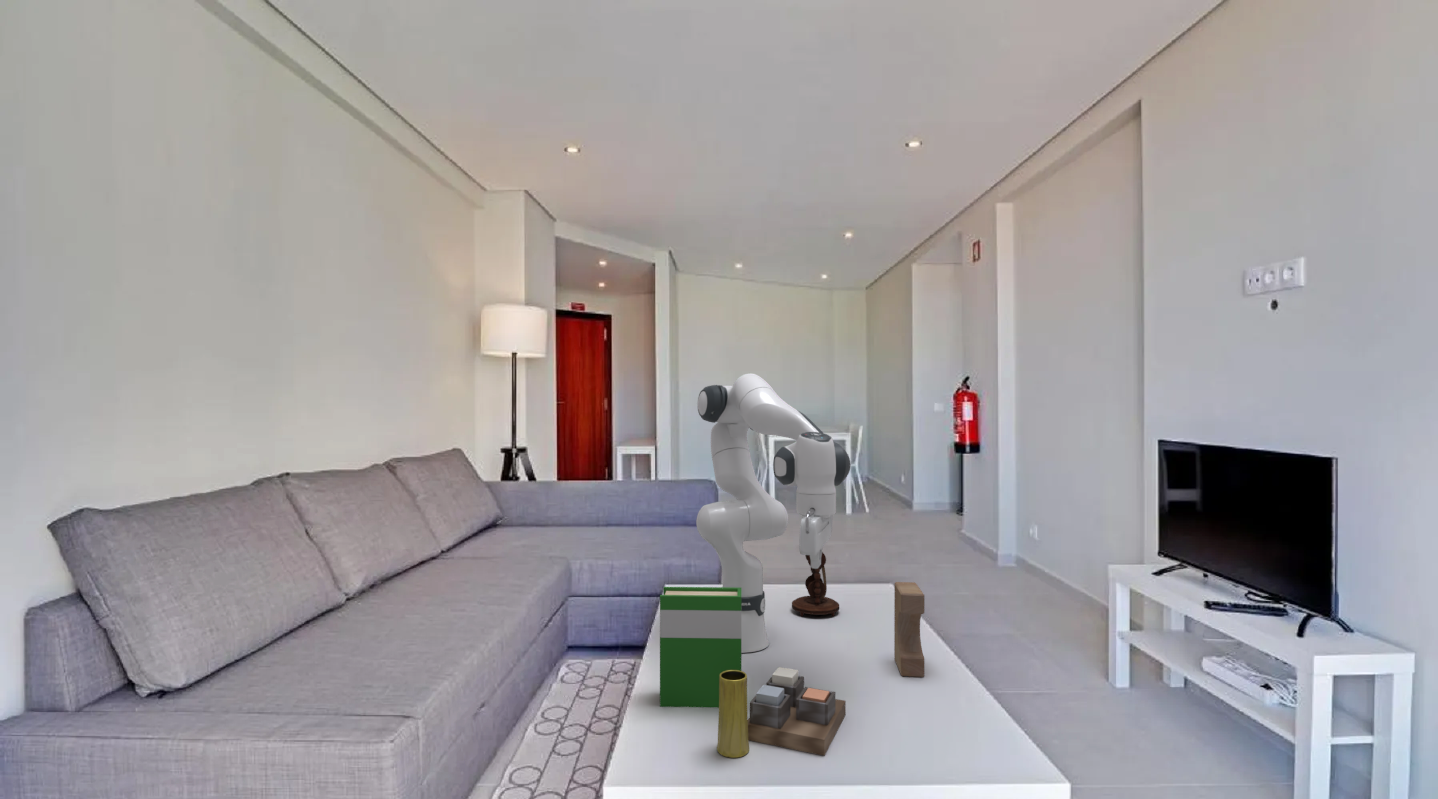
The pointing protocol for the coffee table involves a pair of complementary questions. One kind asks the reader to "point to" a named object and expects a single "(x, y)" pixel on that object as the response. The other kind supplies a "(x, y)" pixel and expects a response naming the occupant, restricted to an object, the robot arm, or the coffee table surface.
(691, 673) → the hardback book
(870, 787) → the coffee table surface
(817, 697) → the terracotta button
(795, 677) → the cream button
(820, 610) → the brown figurine
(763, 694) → the slate button
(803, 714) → the block sorting tray
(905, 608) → the decorative block
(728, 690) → the vase
